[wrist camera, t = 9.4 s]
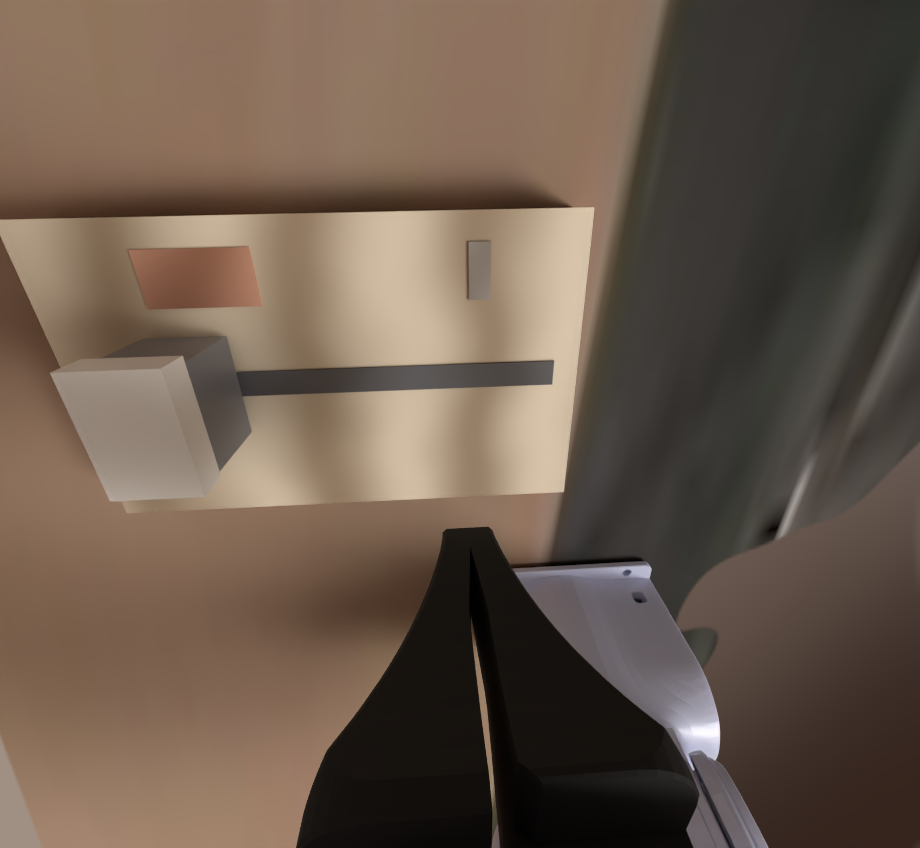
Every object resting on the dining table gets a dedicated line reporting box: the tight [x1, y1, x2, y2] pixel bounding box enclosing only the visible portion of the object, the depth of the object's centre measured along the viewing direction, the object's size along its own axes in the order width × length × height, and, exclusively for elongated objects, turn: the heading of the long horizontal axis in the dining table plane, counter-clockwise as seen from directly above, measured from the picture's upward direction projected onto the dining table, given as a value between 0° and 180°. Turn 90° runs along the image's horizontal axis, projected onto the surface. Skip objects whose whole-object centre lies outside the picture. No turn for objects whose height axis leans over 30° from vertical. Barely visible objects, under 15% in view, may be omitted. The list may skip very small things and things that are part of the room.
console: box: [0, 207, 595, 513], centre depth 18 cm, size 20×12×3 cm, turn 91°
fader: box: [50, 336, 252, 502], centre depth 15 cm, size 3×4×4 cm
